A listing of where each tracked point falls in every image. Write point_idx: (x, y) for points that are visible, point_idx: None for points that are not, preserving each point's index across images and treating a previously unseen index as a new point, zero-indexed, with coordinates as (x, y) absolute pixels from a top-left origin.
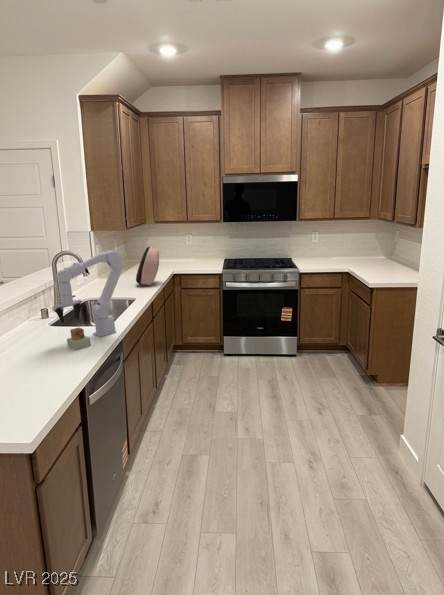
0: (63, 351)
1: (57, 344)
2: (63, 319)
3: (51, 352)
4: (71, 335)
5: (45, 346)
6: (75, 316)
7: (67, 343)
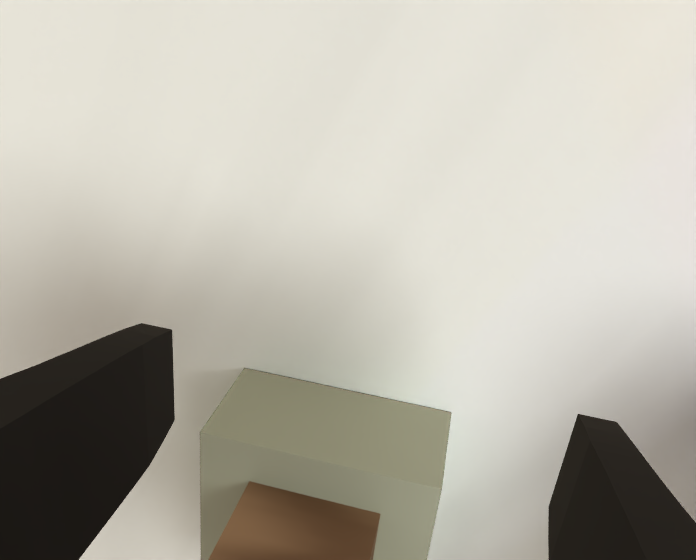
0: None
1: (197, 175)
2: (115, 497)
3: (50, 344)
4: (230, 526)
5: (57, 88)
6: (583, 466)
7: (227, 396)
